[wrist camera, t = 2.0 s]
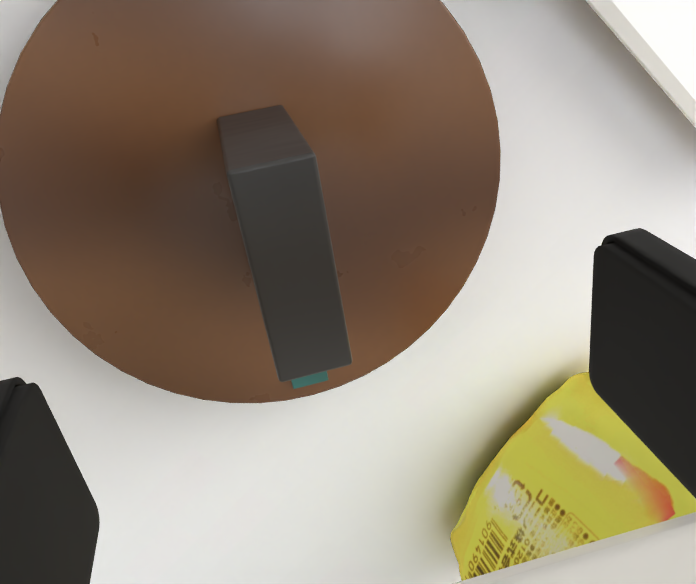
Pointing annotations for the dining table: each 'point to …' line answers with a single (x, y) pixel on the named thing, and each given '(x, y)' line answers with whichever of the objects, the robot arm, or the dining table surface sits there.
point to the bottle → (564, 485)
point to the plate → (658, 42)
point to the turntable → (248, 184)
